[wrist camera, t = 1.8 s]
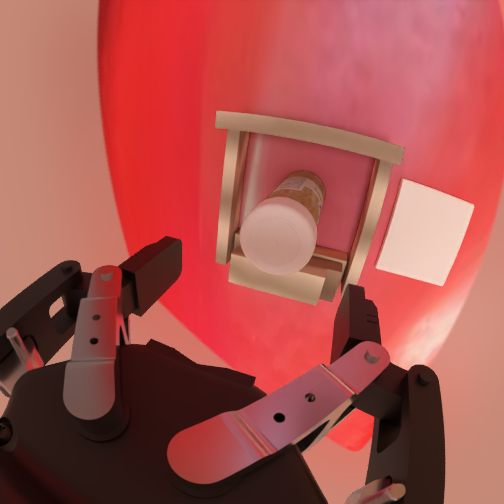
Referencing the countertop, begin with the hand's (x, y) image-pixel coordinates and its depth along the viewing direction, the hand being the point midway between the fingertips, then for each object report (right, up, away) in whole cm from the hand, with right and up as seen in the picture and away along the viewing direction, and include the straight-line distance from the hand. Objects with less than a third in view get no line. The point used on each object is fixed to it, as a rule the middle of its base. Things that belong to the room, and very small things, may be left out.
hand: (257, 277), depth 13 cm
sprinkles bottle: (+5, +7, +15) cm, 17 cm away
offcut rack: (+5, +6, +15) cm, 17 cm away
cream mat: (+18, +3, +12) cm, 22 cm away
